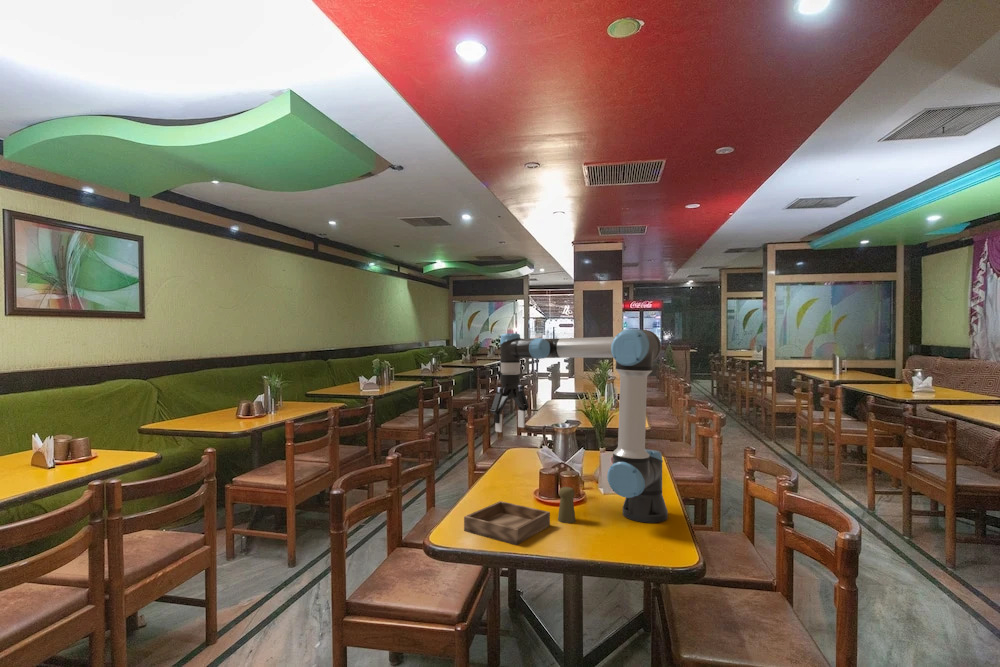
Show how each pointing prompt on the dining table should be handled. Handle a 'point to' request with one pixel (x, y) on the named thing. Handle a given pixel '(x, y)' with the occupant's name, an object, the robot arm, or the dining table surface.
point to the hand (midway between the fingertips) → (510, 429)
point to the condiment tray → (507, 522)
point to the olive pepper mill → (566, 505)
